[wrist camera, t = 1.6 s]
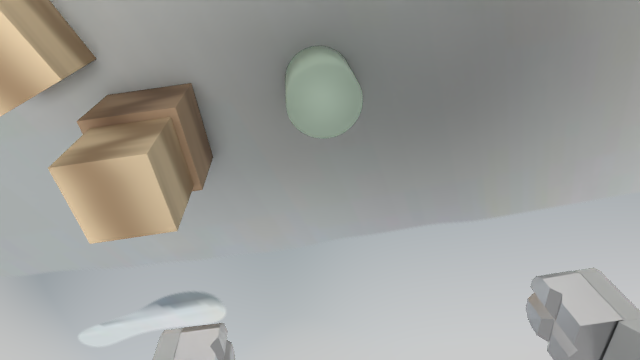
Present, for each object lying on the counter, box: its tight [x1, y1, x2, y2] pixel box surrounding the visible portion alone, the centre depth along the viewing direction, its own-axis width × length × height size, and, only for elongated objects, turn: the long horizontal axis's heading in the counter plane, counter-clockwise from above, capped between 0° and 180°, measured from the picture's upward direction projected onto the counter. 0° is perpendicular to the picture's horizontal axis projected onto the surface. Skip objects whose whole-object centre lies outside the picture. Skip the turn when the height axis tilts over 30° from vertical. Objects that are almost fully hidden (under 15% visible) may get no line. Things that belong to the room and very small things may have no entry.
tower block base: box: [77, 83, 213, 191], centre depth 27 cm, size 6×6×5 cm
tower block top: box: [48, 117, 194, 244], centre depth 23 cm, size 5×5×5 cm
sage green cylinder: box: [285, 46, 363, 139], centre depth 26 cm, size 5×5×5 cm
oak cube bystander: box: [0, 0, 96, 116], centre depth 24 cm, size 5×5×5 cm
